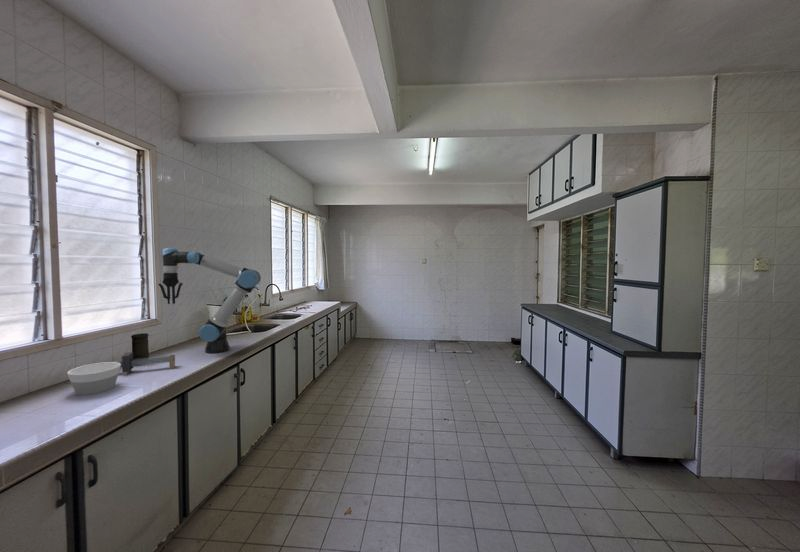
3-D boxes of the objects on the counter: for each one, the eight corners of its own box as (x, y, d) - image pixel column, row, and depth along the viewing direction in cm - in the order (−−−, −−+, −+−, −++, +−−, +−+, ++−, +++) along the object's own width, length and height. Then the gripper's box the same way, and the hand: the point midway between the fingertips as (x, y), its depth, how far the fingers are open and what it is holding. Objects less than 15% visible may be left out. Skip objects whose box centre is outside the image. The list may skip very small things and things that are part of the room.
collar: (133, 367, 186) (132, 352, 186) (129, 371, 179) (128, 355, 179) (126, 368, 185) (126, 352, 184) (122, 372, 178) (121, 356, 177)
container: (153, 361, 202) (153, 333, 201) (140, 366, 193) (140, 336, 192) (140, 361, 203) (139, 332, 202) (127, 365, 194) (126, 336, 193)
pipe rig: (175, 365, 196) (175, 353, 196) (173, 369, 188) (172, 357, 188) (111, 372, 182) (111, 359, 182) (106, 377, 174) (105, 364, 174)
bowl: (128, 386, 162) (127, 365, 162) (75, 401, 146) (75, 377, 145) (112, 379, 172) (112, 359, 172) (62, 391, 156) (61, 369, 155)
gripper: (183, 272, 213) (184, 307, 214) (159, 272, 207) (160, 308, 208) (181, 272, 206) (183, 309, 208) (156, 272, 200) (158, 310, 201)
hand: (171, 308), depth 208 cm, fingers closed
